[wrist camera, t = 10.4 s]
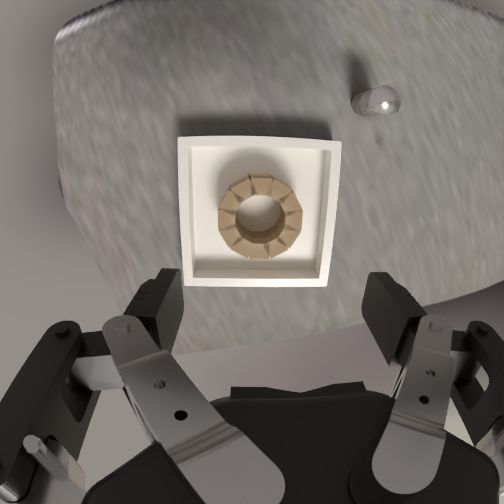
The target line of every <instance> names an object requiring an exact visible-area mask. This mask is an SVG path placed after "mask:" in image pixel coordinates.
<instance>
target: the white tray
mask: <svg viewBox="0 0 504 504" xmlns="http://www.w3.org/2000/svg"><path fill="white" fill-rule="evenodd" d="M341 144H342V142H338V141H328V140H317V139H304V138H289V137H267V136H191V137H178V184H179V210H180V229H181V246H182V260H183V272H184V284H185V286H223V287H324V286H327V281H328V274H329V267H330V259H331V252H332V244H333V236H334V227H335V218H336V208H337V198H338V187H339V175H340V161H341ZM248 173H249V175H250V173H269V174H272V175H274V176H275V177H277V178H278V179H280V180H282V181H283V182H285V183H286V184H287V185H288V186H289V187H290V188H291V189H292V190H293V191H294V193H295V195H296V197H297V199H298V201H299V203H300V205H301V207H302V211H303V217H302V230H301V231H300V232H301V233H300V234H299V236H298V237H297V239H296V240H295V242H294V243H293V245H292V246H291V247H290V248H288V247H287V248H288V250H287V251H285V252H283V253H281V254H279V255H277V256H275V257H273V258H270V257H269V259H249V257H248V258H246V257H244V256H242V255H240V254H238V253H236V252H235V251H233V250H231V249H230V247H228V246H227V244H226V242H225V241H224V239H223V238H222V236H221V234H220V233H219V229H218V207H219V204H220V201H221V199H222V197H223V195H224V194H225V192H226V190H227V189H228V187H229V185H230V184H232V182H233V181H235V180H237V179H239V178H241V177H242V176H244V175H246V174H248ZM280 215H281V204H280V202H278V201H276V200H275V199H273V198H271V197H270V196H265V195H254V196H252V197H250V198H248V199H246V200H245V201H243V202H242V203H241V205H240V206H239V208H238V209H237V211H236V216H237V218H238V220H239V222H240V223H241V225H242V226H243V227H245V228H247V229H249V230H250V231H261V232H264V231H266V230H268V229H270V228H271V227H273V226H274V225H275V224H276V222H277V221H278V219H279V218H280Z"/></svg>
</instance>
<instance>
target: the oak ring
mask: <svg viewBox="0 0 504 504" xmlns="http://www.w3.org/2000/svg"><path fill="white" fill-rule="evenodd" d="M254 195H265V196H270V197H271V198H273V199H275V200H276V201H278V202H280V204H281V215H280V218H279V219H278V221H277V222H276V224H275V225H274V226H273V227H271V228H270V229H268V230H266V231H264V232H261V231H250V230H249V229H247V228H245V227H243V226H242V225H241V223H240V222H239V220H238V218H237V216H236V211H237V209H238V208H239V206H240V205H241V203H242V202H243V201H245V200H246V199H248V198H250V197H252V196H254ZM302 217H303V211H302V207H301V205H300V203H299V201H298V199H297V197H296V195H295V193H294V191H293V190H292V189H291V188H290V187H289V186H288V185H287V184H286V183H285V182H283V181H282V180H280V179H278V178H277V177H275V176H274V175H272V174H269V173H250V175H249V173H248V174H246V175H244V176H242V177H241V178H239V179H237V180H235V181H233V182H232V184H230V185H229V187H228V189H227V190H226V192H225V194H224V195H223V197H222V199H221V201H220V204H219V207H218V229H219V233H220V234H221V236H222V238H223V239H224V241H225V242H226V244H227V246H228V247H230V249H231V250H233V251H235V252H236V253H238V254H240V255H242V256H244V257H246V258H248V257H249V259H269V257H270V258H273V257H275V256H277V255H279V254H281V253H283V252H285V251H287V250H288V248H290V247H291V246H292V245H293V243H294V242H295V240H296V239H297V237H298V236H299V234H300V233H301V232H300V231H301V230H302ZM287 247H288V248H287Z"/></svg>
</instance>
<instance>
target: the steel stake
mask: <svg viewBox="0 0 504 504" xmlns="http://www.w3.org/2000/svg"><path fill="white" fill-rule="evenodd" d="M400 103H401V102H400V97H399V94H398V93H397V91H396V90H395V89H394V88H392V87H390V86H380V87H377V88H373V89H370V90H367V91H363V92H360V93H357V94H355V95H354V96H353V98H352V101H351V105H352V108H353V110H354V111H355V113H357V114H358V115H360V116H372V115H383V114H393V113H395V112H397V111H398V109H399V107H400Z"/></svg>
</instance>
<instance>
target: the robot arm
mask: <svg viewBox="0 0 504 504" xmlns="http://www.w3.org/2000/svg"><path fill="white" fill-rule="evenodd" d="M183 311H184V300H183V290H182V279H181V271H180V269H170V268H162V269H161V270H160V272H159V274H158V275H157V277H156V279H149V280H148V281H146V282H145V283H143V284H142V285H141V286H140V288H139V289H138V291H137V293H136V294H135V296H134V297H133V299H132V301H131V302H130V304H129V305H128V307H127V309H126V310H125V312H124V314H123V315H121V316H116V317H113V318H111V319H110V320H108V321H107V322H106V323H105V324H104V325H103V327H102V331H96V332H86V333H82V332H81V329H80V326H79V324H78V323H76V322H74V321H61V322H58V323H56V324H54V325H52V326H51V327H50V328H49V329H48V330H47V331H46V332H45V334H44V335H43V337H42V338H41V340H40V341H39V342H38V344H37V345H36V347H35V348H34V349H33V351H32V352H31V354H30V355H29V357H28V358H27V360H26V361H25V363H24V365H23V366H22V367H21V369H20V371H19V372H18V374H17V375H16V377H15V379H14V380H13V382H12V383H11V385H10V387H9V388H8V390H7V392H6V394H5V395H4V397H3V398H2V400H1V402H0V499H1V500H2V501H3V502H5V503H6V504H499V496H504V341H503V340H502V339H501V337H500V336H499V335H498V334H497V333H496V331H495V330H494V329H493V328H492V327H491V326H490V325H488V324H486V323H484V322H481V321H471V322H470V323H469V325H468V327H467V329H466V332H464V331H455V330H452V326H451V325H450V323H449V322H448V321H447V320H445V319H443V318H441V317H439V316H435V315H428V314H427V313H426V312H425V311H424V309H423V308H422V307H421V306H420V305H419V303H418V302H417V301H416V300H415V299H414V297H413V296H411V294H410V293H409V292H408V290H407V289H406V288H404V287H403V286H401V285H400V284H398V283H396V282H395V281H394V280H393V278H392V277H391V276H390V275H389V274H388V273H387V272H371V273H370V274H369V276H368V279H367V284H366V288H365V293H364V297H363V301H362V315H363V318H364V320H365V322H366V323H367V325H368V327H369V329H370V331H371V333H372V335H373V336H374V338H375V340H376V342H377V344H378V346H379V348H380V350H381V351H382V354H383V356H384V357H385V359H386V361H387V363H388V365H389V367H390V366H397V365H401V369H400V371H399V374H398V376H397V379H396V382H395V384H394V387H393V389H392V392H391V394H390V396H388V395H385V394H382V393H378V392H374V391H368V390H366V388H365V386H364V383H363V382H362V381H361V382H352V383H342V384H332V385H329V386H325V387H321V388H318V389H314V390H310V391H307V392H302V393H298V392H291V391H285V390H279V389H273V388H267V387H231V394H230V396H229V397H223V398H220V399H216V400H213V401H211V402H208V400H207V399H206V398H205V397H204V396H203V395H202V393H201V392H200V391H199V390H198V389H197V387H196V386H195V385H194V384H193V382H192V381H191V380H190V379H189V377H188V376H187V375H186V373H185V372H184V371H183V370H182V368H181V367H180V366H179V364H178V363H177V362H176V360H175V359H174V358H173V356H172V355H171V351H172V348H173V345H174V342H175V338H176V335H177V332H178V329H179V326H180V323H181V320H182V316H183ZM481 365H482V367H483V368H484V370H485V371H486V373H487V374H488V377H489V385H488V388H487V389H486V391H485V392H484V390H483V388H482V387H481V385H480V384H479V382H478V380H477V379H476V377H475V376H476V374H477V372H478V371H479V369H480V367H481ZM118 388H122V390H123V392H124V394H125V396H126V398H127V400H128V402H129V404H130V406H131V408H132V410H133V412H134V414H135V415H136V418H137V419H138V421H139V423H140V425H141V427H142V429H143V431H144V433H145V435H146V437H147V438H148V440H149V442H150V443H151V445H150V446H148V447H147V448H146V449H144V450H143V451H142V452H140V453H139V454H137V455H136V456H135V457H133V458H132V459H131V460H129V461H128V462H126V463H125V464H124V465H122V466H121V467H119V468H118V469H116V470H115V471H113V472H112V473H110V474H109V475H108V476H106V477H105V478H103V479H102V480H100V481H99V482H97V483H96V484H95V485H93V486H92V487H91V488H90V489H89V490H88V492H87V493H86V491H85V474H84V471H83V469H82V468H81V466H80V465H79V464H78V463H77V460H78V457H79V454H80V450H81V447H82V444H83V441H84V438H85V435H86V432H87V429H88V426H89V423H90V420H91V417H92V415H93V412H94V409H95V406H96V404H97V401H98V398H99V396H100V393H101V390H107V389H118ZM450 397H451V398H452V400H453V402H454V404H455V406H456V408H457V410H458V412H459V415H460V417H461V419H462V421H463V422H464V425H465V427H466V429H467V431H468V434H469V436H470V438H471V440H472V442H473V445H474V447H473V446H471V445H470V444H468V443H466V442H464V441H463V440H461V439H459V438H457V437H456V436H454V435H453V434H451V433H449V432H448V431H446V430H444V425H445V420H446V415H447V410H448V405H449V399H450Z"/></svg>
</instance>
